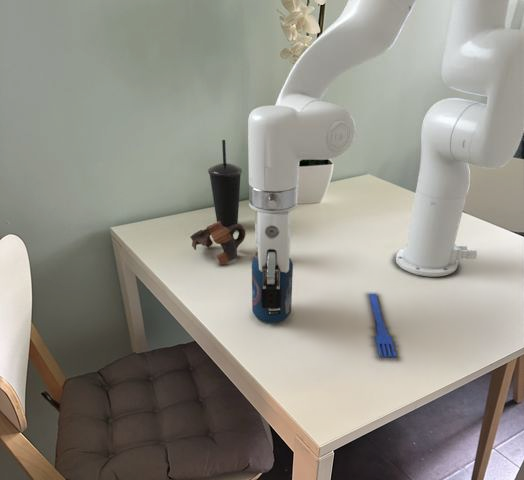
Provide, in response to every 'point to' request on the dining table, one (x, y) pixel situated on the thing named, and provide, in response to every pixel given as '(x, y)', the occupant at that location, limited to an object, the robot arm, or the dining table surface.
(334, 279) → the dining table surface
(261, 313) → the soda can
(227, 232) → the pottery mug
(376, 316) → the blue fork
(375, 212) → the dining table surface
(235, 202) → the drinking cup
